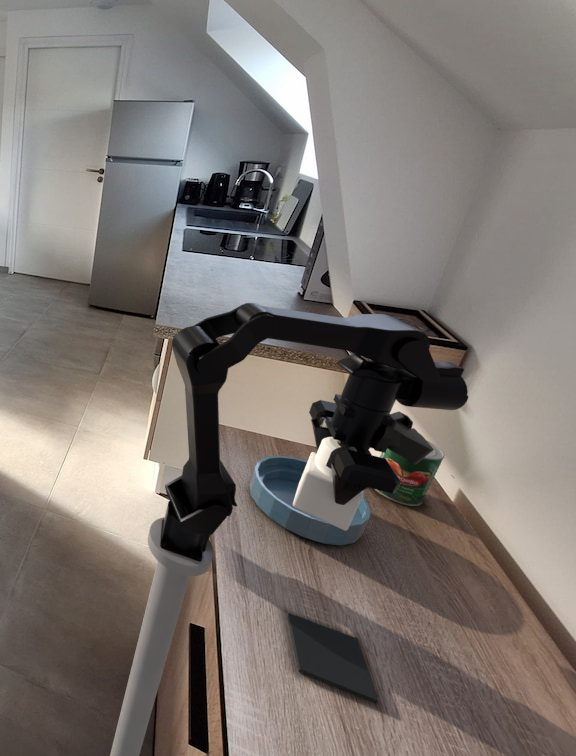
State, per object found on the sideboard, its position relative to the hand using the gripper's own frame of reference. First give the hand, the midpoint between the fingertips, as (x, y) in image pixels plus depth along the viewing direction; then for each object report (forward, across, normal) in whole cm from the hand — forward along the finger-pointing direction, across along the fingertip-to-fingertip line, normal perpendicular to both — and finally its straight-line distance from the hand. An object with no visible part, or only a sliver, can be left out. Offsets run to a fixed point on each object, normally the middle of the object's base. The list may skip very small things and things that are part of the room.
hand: (331, 485), depth 71 cm
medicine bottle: (+5, 0, 0) cm, 5 cm away
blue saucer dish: (+13, +9, -1) cm, 16 cm away
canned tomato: (+13, +23, -19) cm, 33 cm away
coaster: (+13, -20, +2) cm, 23 cm away
